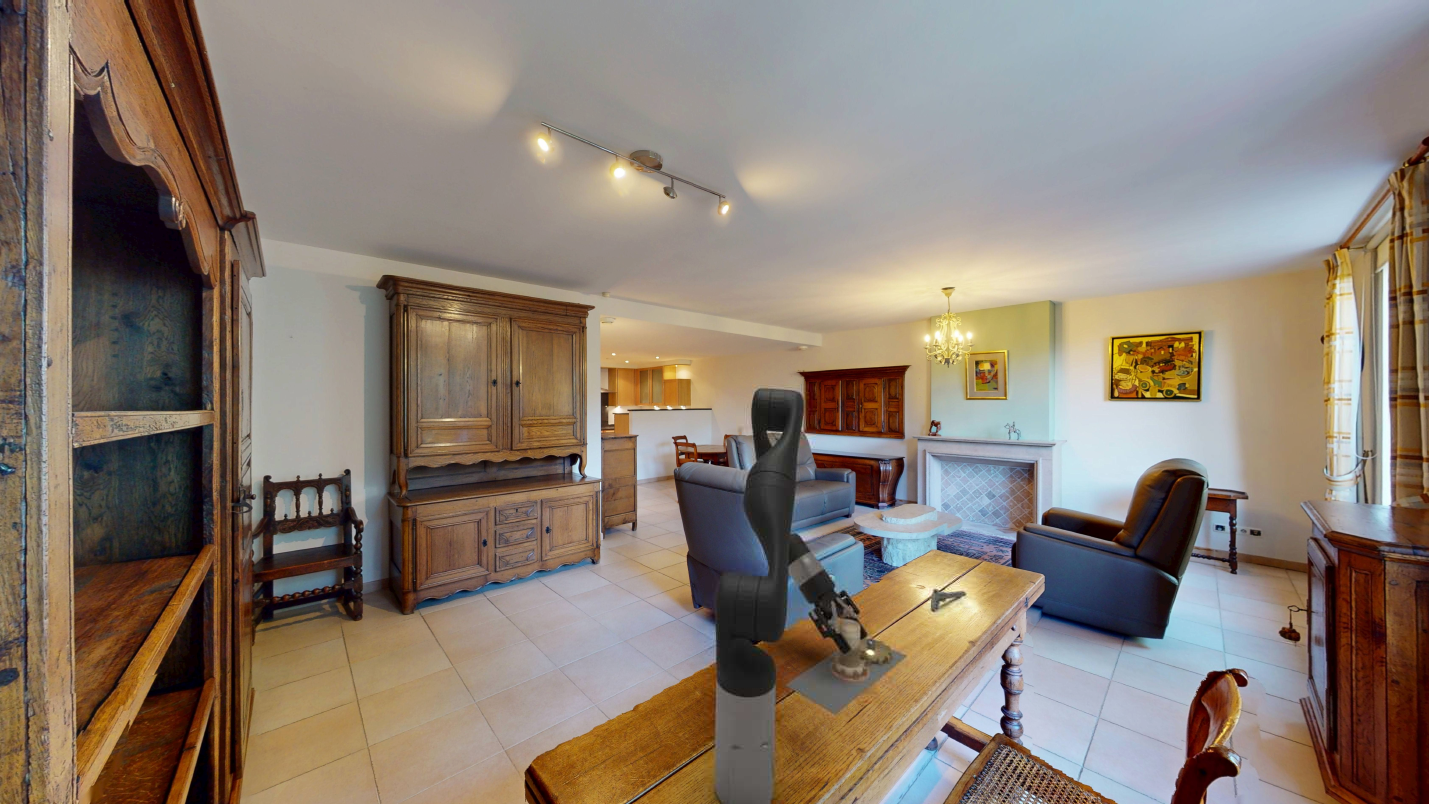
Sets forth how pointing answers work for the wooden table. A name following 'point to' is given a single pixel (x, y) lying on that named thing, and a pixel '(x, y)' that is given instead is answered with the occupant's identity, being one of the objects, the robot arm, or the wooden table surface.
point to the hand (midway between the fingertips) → (856, 644)
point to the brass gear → (875, 652)
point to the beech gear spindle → (850, 653)
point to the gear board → (838, 683)
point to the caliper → (943, 597)
